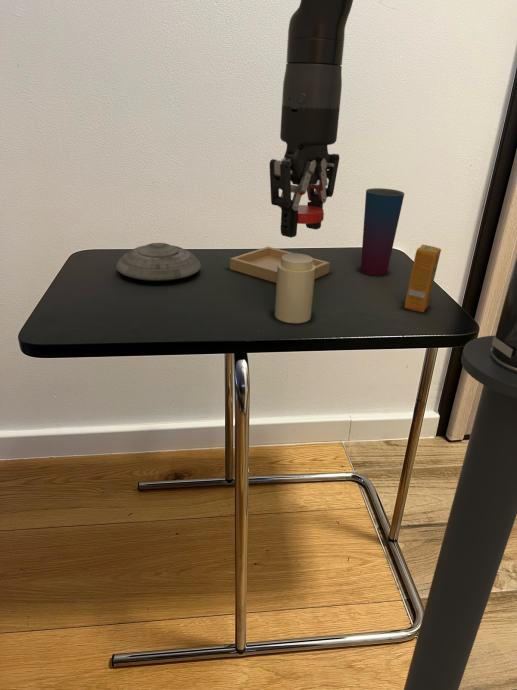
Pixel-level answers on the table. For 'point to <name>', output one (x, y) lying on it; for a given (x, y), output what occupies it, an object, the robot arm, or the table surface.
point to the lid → (309, 214)
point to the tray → (268, 264)
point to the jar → (294, 288)
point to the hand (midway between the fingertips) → (301, 231)
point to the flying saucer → (158, 263)
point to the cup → (379, 229)
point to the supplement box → (422, 278)
